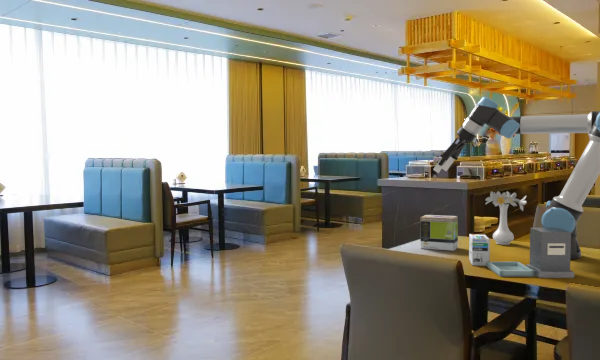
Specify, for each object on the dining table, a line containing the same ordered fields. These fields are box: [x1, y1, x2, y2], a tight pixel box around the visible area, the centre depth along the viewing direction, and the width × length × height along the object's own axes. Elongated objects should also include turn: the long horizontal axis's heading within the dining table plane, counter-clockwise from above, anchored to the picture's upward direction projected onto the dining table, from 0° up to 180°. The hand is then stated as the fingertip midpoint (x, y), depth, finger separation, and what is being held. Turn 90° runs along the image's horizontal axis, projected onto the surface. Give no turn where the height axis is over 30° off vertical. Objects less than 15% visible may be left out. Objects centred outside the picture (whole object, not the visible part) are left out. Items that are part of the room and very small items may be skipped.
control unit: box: [525, 227, 575, 279], centre depth 184 cm, size 12×12×16 cm
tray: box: [486, 261, 536, 278], centre depth 188 cm, size 12×15×2 cm
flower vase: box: [485, 191, 527, 246], centre depth 241 cm, size 13×18×25 cm
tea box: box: [419, 214, 459, 252], centre depth 232 cm, size 15×10×15 cm, turn 62°
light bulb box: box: [468, 233, 491, 267], centre depth 202 cm, size 11×7×11 cm, turn 168°
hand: (439, 170), depth 225 cm, fingers open, 13 cm apart
